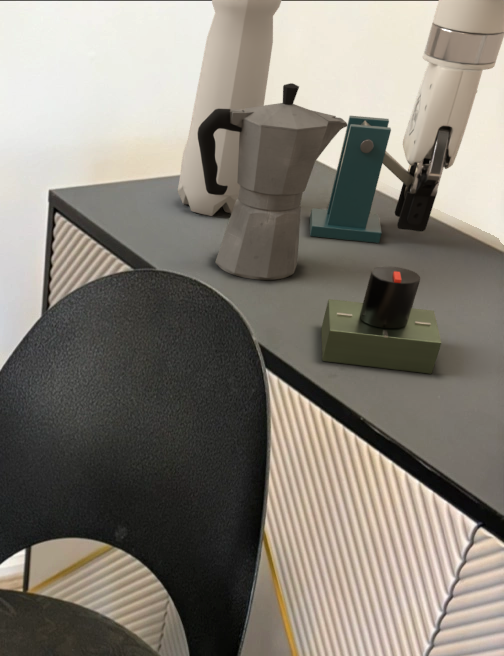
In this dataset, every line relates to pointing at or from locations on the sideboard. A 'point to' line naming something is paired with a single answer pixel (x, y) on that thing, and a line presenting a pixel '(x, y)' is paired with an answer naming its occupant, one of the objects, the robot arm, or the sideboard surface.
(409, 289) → the knob
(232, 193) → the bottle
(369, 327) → the panel
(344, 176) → the teal lever mount
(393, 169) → the ball knob lever
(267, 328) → the sideboard surface
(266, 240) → the coffeepot
